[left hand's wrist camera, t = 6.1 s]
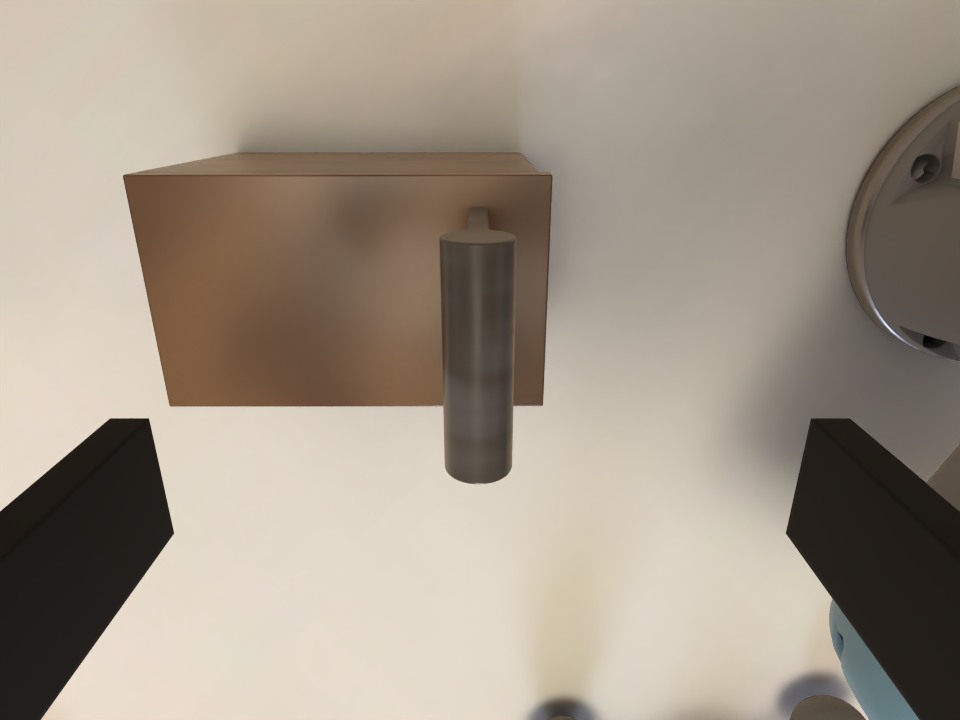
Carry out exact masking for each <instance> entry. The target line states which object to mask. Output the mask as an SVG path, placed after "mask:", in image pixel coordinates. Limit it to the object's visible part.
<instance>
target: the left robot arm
mask: <svg viewBox="0 0 960 720" xmlns="http://www.w3.org/2000/svg"><path fill="white" fill-rule="evenodd" d="M846 251H847V265H848V271H849V276H850V280H851V283H852V287H853V289H854V292H855V294H856V296H857V298H858V300H859V302H860V304H861V305H862V307H863V309H864V310H865V311H866V313H867V314H868V315H869V317H870V318H871V319H872V320H873V321H874V322H875V323H876V324H877V325H878V326H880V327H881V328H882V329H883V330H885V331H886V332H887V333H889V334H891V335H892V336H894V337H895V338H897V339H899V340H901V341H903V342H904V343H906V344H908V345H910V346H911V347H913V348H915V349H918V350H920V351H922V352H924V353H927V354H930V355H933V356H936V357H941V358H945V359H951V360H957V361H960V86H959V87H957V88H955V89H953V90H951V91H950V92H948V93H946V94H944V95H943V96H941V97H939V98H938V99H936V100H935V101H934V102H932V103H931V104H929V105H928V106H926V107H925V108H924V109H923V110H921V111H920V112H919V113H918V114H917V115H915V116H914V117H913V118H912V119H911V120H910V121H909V122H908V123H907V124H906V125H905V126H904V127H902V128H901V129H900V131H899V132H898V133H897V134H896V135H895V136H894V137H893V138H892V139H891V141H890V142H889V143H888V144H887V146H886V147H885V148H884V149H883V151H882V152H881V153H880V155H879V156H878V158H877V159H876V161H875V162H874V164H873V165H872V167H871V169H870V170H869V172H868V174H867V176H866V178H865V180H864V182H863V184H862V186H861V188H860V191H859V193H858V195H857V198H856V201H855V204H854V207H853V210H852V214H851V218H850V222H849V228H848V235H847V250H846ZM173 534H174V531H173V526H172V522H171V517H170V513H169V508H168V504H167V499H166V494H165V490H164V485H163V481H162V476H161V472H160V467H159V462H158V458H157V453H156V449H155V444H154V440H153V435H152V430H151V426H150V421H149V419H109V420H108V421H107V422H106V423H104V424H103V425H102V426H101V427H100V428H98V429H97V430H96V431H95V432H94V433H93V434H91V435H90V436H89V437H88V438H87V439H85V440H84V441H83V442H82V443H81V444H80V445H78V446H77V447H76V448H75V449H74V450H72V451H71V452H70V453H69V454H68V455H67V456H65V457H64V458H63V459H62V460H61V461H59V462H58V463H57V464H56V465H55V466H54V467H52V468H51V469H50V470H49V471H48V472H46V473H45V474H44V475H43V476H42V477H41V478H39V479H38V480H37V481H36V482H35V483H33V484H32V485H31V486H30V487H29V488H28V489H26V490H25V491H24V492H23V493H22V494H20V495H19V496H18V497H17V498H16V499H15V500H13V501H12V502H11V503H10V504H9V505H7V506H6V507H5V508H4V509H3V510H2V511H0V720H41V719H42V717H43V716H44V714H45V713H46V712H47V710H48V709H49V707H50V706H51V705H52V703H53V702H54V700H55V699H56V698H57V696H58V695H59V693H60V692H61V691H62V689H63V688H64V686H65V685H66V684H67V682H68V681H69V679H70V678H71V677H72V675H73V674H74V672H75V671H76V670H77V668H78V667H79V665H80V664H81V663H82V661H83V660H84V658H85V657H86V656H87V654H88V653H89V651H90V650H91V649H92V647H93V646H94V644H95V643H96V642H97V640H98V639H99V637H100V636H101V635H102V633H103V632H104V630H105V629H106V628H107V626H108V625H109V624H110V622H111V621H112V619H113V618H114V617H115V615H116V614H117V612H118V611H119V610H120V608H121V607H122V605H123V604H124V603H125V601H126V600H127V598H128V597H129V596H130V594H131V593H132V591H133V590H134V589H135V587H136V586H137V584H138V583H139V582H140V580H141V579H142V577H143V576H144V575H145V573H146V572H147V570H148V569H149V568H150V566H151V565H152V563H153V562H154V561H155V559H156V558H157V556H158V555H159V554H160V552H161V551H162V549H163V548H164V547H165V545H166V544H167V542H168V541H169V540H170V538H171V537H172V535H173ZM786 534H787V535H788V537H789V538H790V540H791V541H792V542H793V544H794V545H795V547H796V548H797V549H798V551H799V552H800V554H801V555H802V556H803V558H804V559H805V561H806V562H807V563H808V565H809V566H810V568H811V569H812V570H813V572H814V573H815V575H816V576H817V577H818V579H819V580H820V582H821V583H822V584H823V586H824V587H825V589H826V590H827V591H828V593H829V594H830V596H831V597H832V598H833V599H832V602H831V606H830V614H829V624H830V633H831V636H832V640H833V646H834V649H835V651H836V653H837V655H838V657H839V659H840V662H841V667H842V669H843V673H844V675H845V678H846V680H847V682H848V684H849V686H850V687H851V689H852V691H853V693H854V695H855V697H856V699H857V700H858V702H859V704H860V705H861V707H862V709H863V710H864V712H865V714H866V715H867V717H868V718H869V720H960V445H959V446H958V447H957V448H956V450H955V451H954V452H953V453H952V454H951V455H950V456H949V458H948V459H947V460H946V461H945V462H944V463H943V464H942V466H941V467H940V468H939V469H938V470H937V471H936V473H935V474H934V475H933V476H932V477H931V478H930V479H929V481H928V482H927V483H925V482H924V481H923V480H922V479H921V478H919V477H918V476H917V475H916V474H915V473H914V472H912V471H911V470H910V469H909V468H908V467H906V466H905V465H904V464H903V463H902V462H901V461H899V460H898V459H897V458H896V457H895V456H893V455H892V454H891V453H890V452H889V451H888V450H886V449H885V448H884V447H883V446H882V445H880V444H879V443H878V442H877V441H876V440H875V439H873V438H872V437H871V436H870V435H869V434H867V433H866V432H865V431H864V430H863V429H862V428H860V427H859V426H858V425H857V424H856V423H854V422H853V421H852V420H851V419H811V421H810V426H809V430H808V435H807V440H806V444H805V449H804V453H803V458H802V462H801V467H800V472H799V476H798V481H797V485H796V490H795V494H794V499H793V504H792V508H791V513H790V517H789V522H788V526H787V531H786Z"/></svg>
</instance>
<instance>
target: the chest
mask: <svg viewBox="0 0 960 720" xmlns="http://www.w3.org/2000/svg"><path fill="white" fill-rule="evenodd" d="M141 172H537V171H536V170H535V169H534V167H533V166H532V165H531V164H530V163H529V162H528V161H527V160H526V158H525V157H524V156H523V155H522V154H521V153H234V154H228V155H223V156H218V157H213V158H208V159H202V160H197V161H192V162H187V163H182V164H177V165H171V166H166V167H161V168H156V169H151V170H146V171H141Z"/></svg>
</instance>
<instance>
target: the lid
mask: <svg viewBox="0 0 960 720" xmlns="http://www.w3.org/2000/svg"><path fill="white" fill-rule="evenodd" d="M123 179H124V184H125V189H126V193H127V198H128V203H129V208H130V213H131V218H132V223H133V228H134V233H135V238H136V243H137V247H138V252H139V257H140V262H141V267H142V272H143V277H144V282H145V287H146V292H147V297H148V302H149V306H150V311H151V316H152V321H153V326H154V331H155V336H156V341H157V346H158V351H159V356H160V360H161V365H162V370H163V375H164V380H165V385H166V390H167V395H168V400H169V405H170V406H444V447H445V469H446V471H447V472H448V474H449V475H450V476H451V477H453V478H454V479H456V480H458V481H461V482H465V483H470V484H487V483H492V482H496V481H498V480H500V479H502V478H504V477H505V476H507V475H508V473H509V472H510V470H511V468H512V438H513V406H542V405H543V392H544V368H545V343H546V319H547V295H548V270H549V246H550V222H551V197H552V175H551V174H550V173H549V172H136V173H131V174H126V175H123Z"/></svg>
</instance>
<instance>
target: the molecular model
mask: <svg viewBox="0 0 960 720" xmlns="http://www.w3.org/2000/svg"><path fill="white" fill-rule="evenodd" d="M548 720H578V719H576V718H573V717H569V716H556V717H552V718H550V719H548ZM790 720H866V719H865V718H864V717H863V716H862V714H861V713H860V712H859V711H858V710H856V709H855V708H854V707H853V706H851V705H850V704H848V703H847V702H845V701H843V700H841V699H839V698H835V697H832V696H826V695H819V696H812V697H809V698H807V699H805V700H803V701H802V702H801V703H800V704H799V705H798V706H797V707H796V708H795V709H794V711H793V713H792V716H791V718H790Z"/></svg>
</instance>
